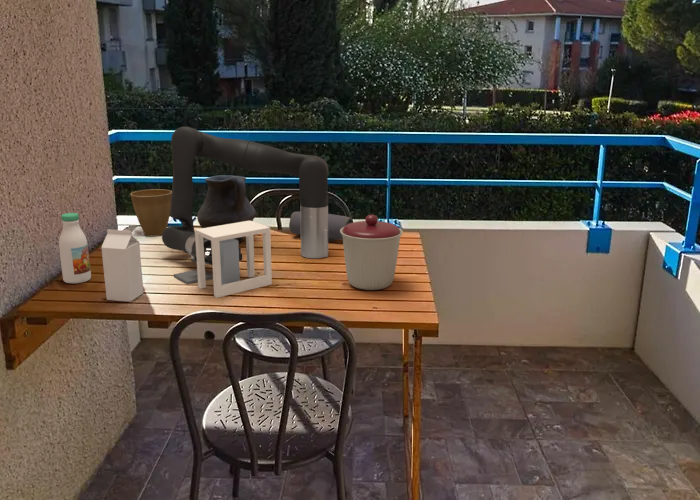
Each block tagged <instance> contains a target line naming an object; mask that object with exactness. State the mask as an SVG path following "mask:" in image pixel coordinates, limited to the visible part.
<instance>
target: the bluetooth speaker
mask: <svg viewBox="0 0 700 500" xmlns="http://www.w3.org/2000/svg"><path fill="white" fill-rule="evenodd" d="M350 223H354V219H353V217H349V216H346V215H339V214H331V213H328V242H329V241H333V242H335V241H336V240H337V241H343V237H342V234H341V233H340V229H341V228H343V227H345V226H346V225H348V224H350ZM288 229H289V231H290V232H291V234H295V235H299V236H301V219H300V211H293V212H292V213H291V215H290V219H289V223H288ZM334 240H335V241H334Z"/></svg>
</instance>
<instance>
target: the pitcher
mask: <svg viewBox="0 0 700 500" xmlns="http://www.w3.org/2000/svg"><path fill="white" fill-rule="evenodd" d="M246 180H247V178H246V177H245V176H241V175H226V174H225V175H224V174H223V175H222V174H221V175H213V176H209V177H206V178H205V179H204V181H205V183H206V184H207V186H208V187H207V191H206V195H205V198H204V202H203V203H202V205H201V207H200V209H198V212H197V215H196V217H197V222H198V224H199V226H200V227H201V229H202V228H208V227H214V226H220V225H226V224H232V223H238V222H244V221H253V222H254V219H255V217H256V215H257V212H256V209H255V207H254V206H253V205H252V203H250V200H249V199H248V198H247V195H246V194H247V187H246V183H245V182H246ZM244 238H245V236H244V237H238V238H234V239H236V240H238V244H239V243H241V242H242V240H243V239H244Z"/></svg>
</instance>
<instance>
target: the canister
mask: <svg viewBox="0 0 700 500" xmlns="http://www.w3.org/2000/svg"><path fill="white" fill-rule="evenodd" d="M378 219H379V218H378V216H377V215H374V214H368V215H367V216H365V220H362V221H360V220H359V221H353V223H350V224H348V225H346V226H345V227H343V228H341V229H340V233H341V234H342V237H343V240H342V244H343V245H342V246H343V254H344V257H343V258H344V264H345V265H344V266H345V272H346V279H347V281H348V282H349V284H350V285H351V286H352V287H354V288H356V289H360V290H364V291H365V290H366V291H376V290H378V291H379V290H383V289H386V288H389V287H390V286H391V285H392V283H393V282H394V279H395V275H396V274H395V273H396V269H397V268H396V267H397V262H398V254H399V248H400V241H401V236H403V234H404V233H403V232H404V231H403V229H401V228H400V227H398V226H397V225H396V224H393V223H390V222H385V221H379V220H378Z"/></svg>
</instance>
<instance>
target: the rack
mask: <svg viewBox="0 0 700 500" xmlns="http://www.w3.org/2000/svg"><path fill="white" fill-rule="evenodd" d="M194 230H195V241H196V257H197V263H196V270H197V274H198V282H197V288H199V289H202V290H203V289H206V288H207V283H206V281H207V280H206V279H205V271H206V264H205V262H204V244H203V237H204V238H206V239H208V240H211V246H212V265H213V266H212V265H211V266H212V275H213V279H212V280H213V281H212V282H213V296H214V297H215V298H216V299H218V298H222V297H227V296H230V295H234V294H238V293H242V292H247V291H250V290H254V289H258V288H263V287H267V286H270V285H271V286H272V284H273V277H272V250H271V249H272V245H271V244H272V242H271V239H272V238H271V237H272V235H271V234H272V233H271V227H270V226H267V225H264V224H261V223H259V222H255V221H254V220H253V221H244V222H238V223H232V224H226V225H220V226H214V227H208V228H202V227H201V228H197V229H194ZM261 234H262V253H263V254H262V255H263V257H262V258H263V275H259V276H256V271H255V246H254V245H255V244H254V235H261ZM238 237H244V238H245V242H246V243H245V245H246V248H245V250H246V270H247V271H246V275H247V277H248V278H246V279H242V280H241V279H240V281H237V282H232V283H228V284H224V285H222V284H221V264H220V243H219V241H222V240H228V239H233V238H238Z"/></svg>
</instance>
